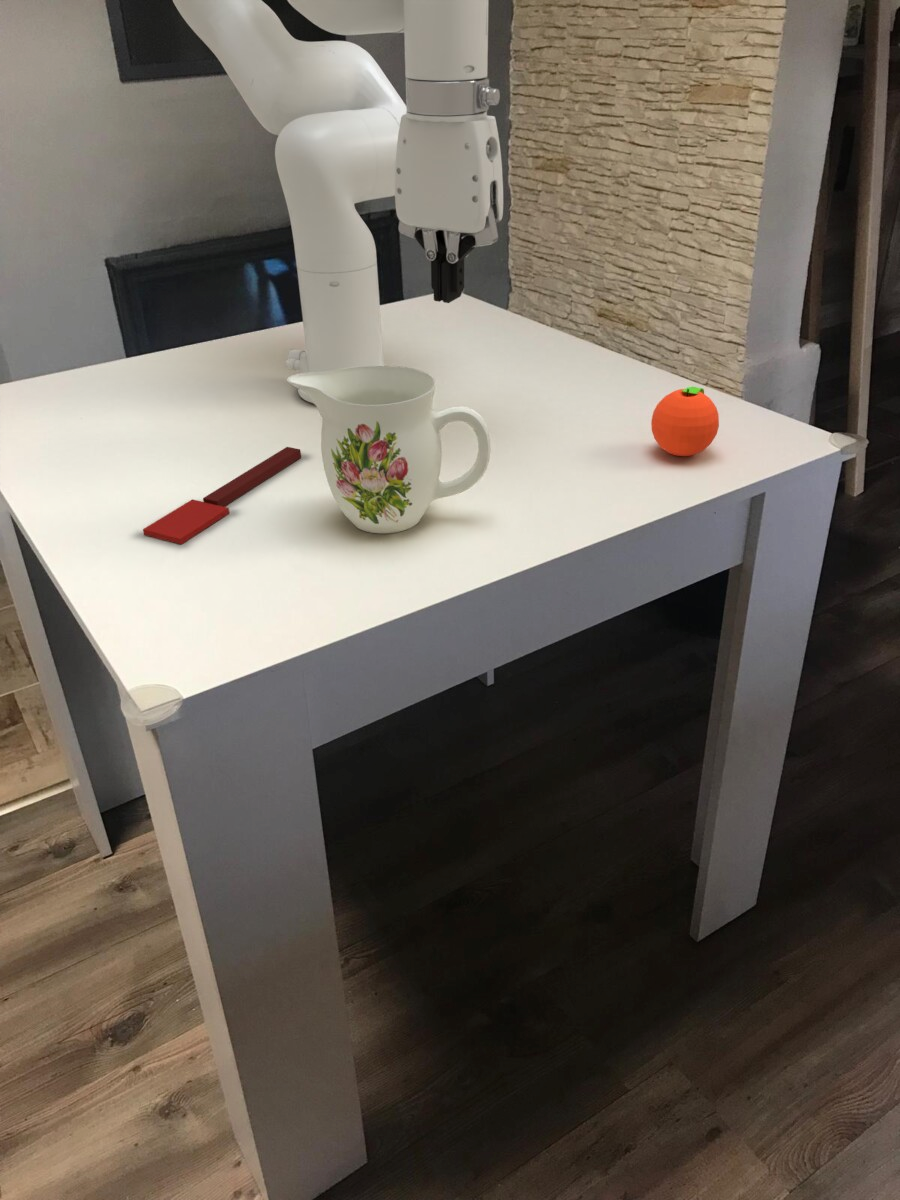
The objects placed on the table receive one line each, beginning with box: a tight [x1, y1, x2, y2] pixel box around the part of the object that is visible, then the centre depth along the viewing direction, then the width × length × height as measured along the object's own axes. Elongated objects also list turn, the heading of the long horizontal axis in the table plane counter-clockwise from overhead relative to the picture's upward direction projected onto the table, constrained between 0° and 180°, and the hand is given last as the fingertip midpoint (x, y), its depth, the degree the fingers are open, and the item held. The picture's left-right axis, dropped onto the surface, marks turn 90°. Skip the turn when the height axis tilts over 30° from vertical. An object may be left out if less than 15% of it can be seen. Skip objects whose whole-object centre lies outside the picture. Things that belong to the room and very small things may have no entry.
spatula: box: [142, 446, 302, 545], centre depth 97 cm, size 5×21×1 cm, turn 152°
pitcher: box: [286, 365, 491, 534], centre depth 88 cm, size 11×18×14 cm, turn 85°
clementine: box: [650, 386, 720, 457], centre depth 101 cm, size 8×7×7 cm
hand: (447, 298), depth 99 cm, fingers closed
